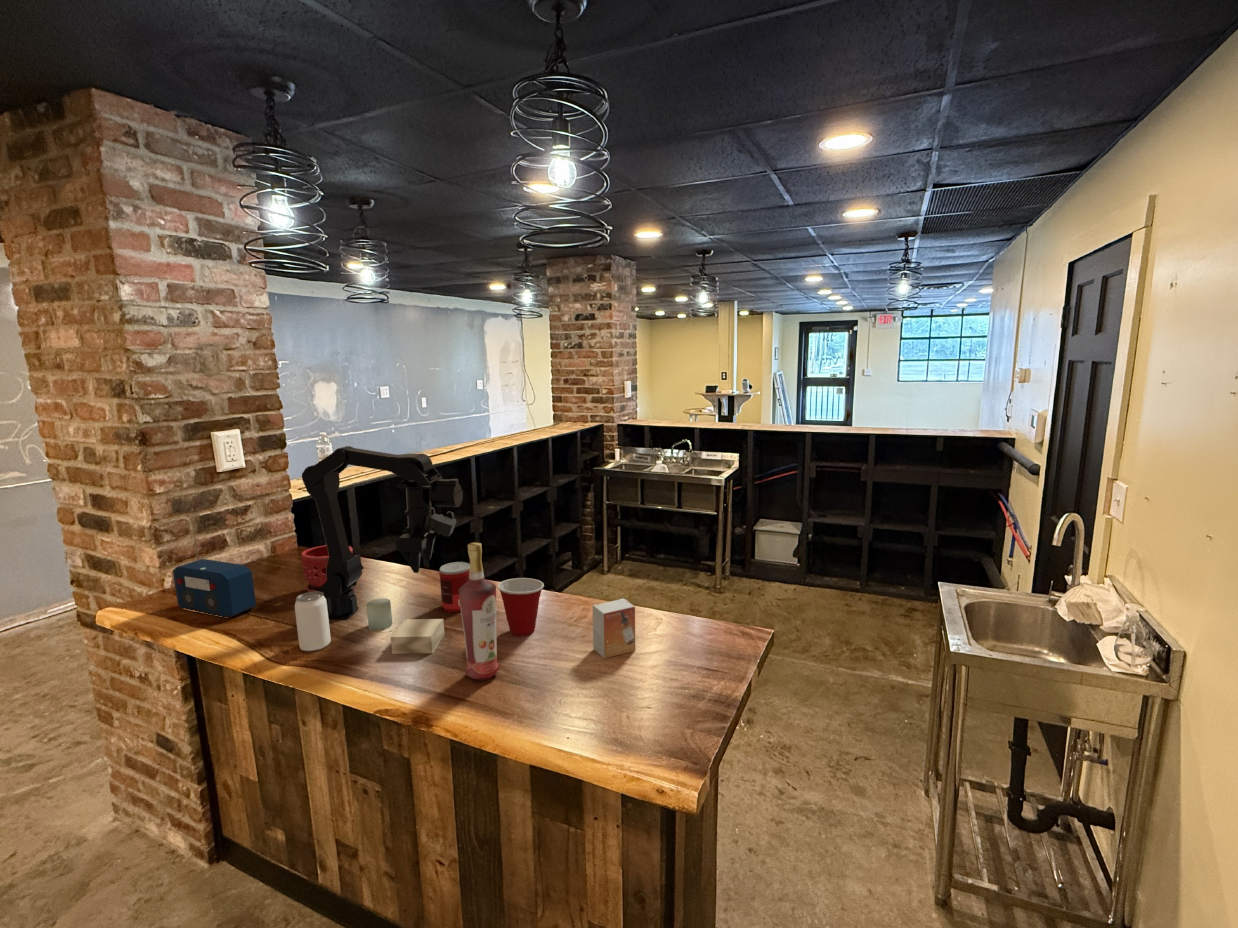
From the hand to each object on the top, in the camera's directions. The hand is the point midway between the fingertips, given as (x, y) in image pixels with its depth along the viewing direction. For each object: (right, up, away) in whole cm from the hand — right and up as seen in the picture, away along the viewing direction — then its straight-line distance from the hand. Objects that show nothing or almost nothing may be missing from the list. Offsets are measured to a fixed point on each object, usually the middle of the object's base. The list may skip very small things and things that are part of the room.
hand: (422, 565), depth 149 cm
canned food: (+7, -12, +8) cm, 16 cm away
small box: (+48, -16, -17) cm, 53 cm away
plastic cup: (+26, -15, -7) cm, 31 cm away
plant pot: (-33, -11, +22) cm, 41 cm away
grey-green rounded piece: (-10, -14, -2) cm, 17 cm away
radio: (-58, -13, +9) cm, 60 cm away
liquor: (+21, -18, -26) cm, 38 cm away
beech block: (+3, -16, -12) cm, 20 cm away
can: (-21, -16, -12) cm, 29 cm away
